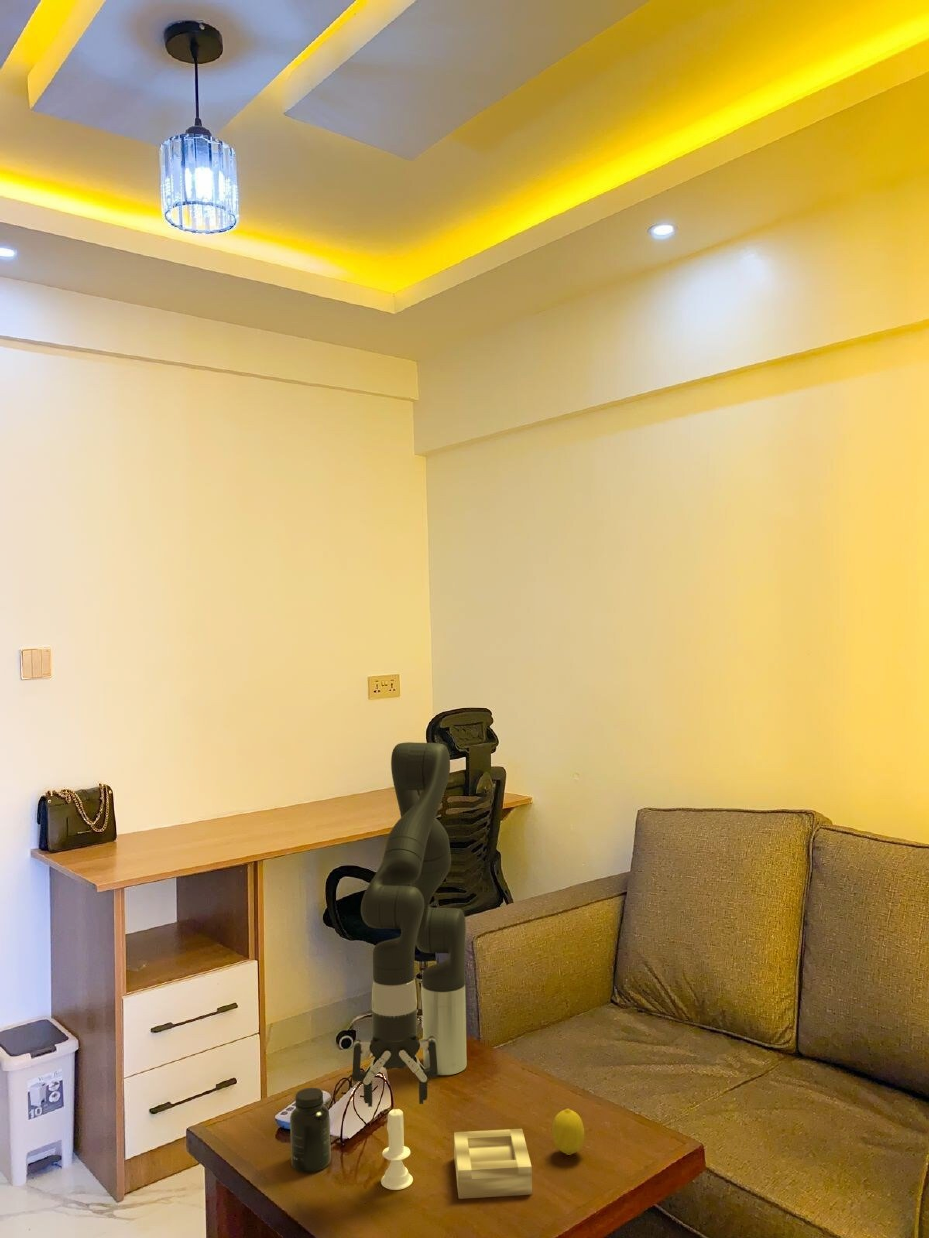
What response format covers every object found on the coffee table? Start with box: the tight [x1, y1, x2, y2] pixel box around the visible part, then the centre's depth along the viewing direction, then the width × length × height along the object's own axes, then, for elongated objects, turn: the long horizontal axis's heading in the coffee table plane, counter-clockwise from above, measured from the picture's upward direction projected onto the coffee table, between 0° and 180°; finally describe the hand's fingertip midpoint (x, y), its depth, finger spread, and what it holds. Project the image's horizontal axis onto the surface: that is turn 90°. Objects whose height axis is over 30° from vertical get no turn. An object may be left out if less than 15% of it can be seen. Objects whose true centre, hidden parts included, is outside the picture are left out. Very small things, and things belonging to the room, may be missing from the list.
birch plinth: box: [453, 1128, 533, 1200], centre depth 159 cm, size 12×12×4 cm
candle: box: [380, 1108, 414, 1191], centre depth 158 cm, size 5×5×12 cm
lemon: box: [551, 1108, 585, 1156], centre depth 165 cm, size 6×6×8 cm
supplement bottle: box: [289, 1087, 332, 1174], centre depth 164 cm, size 7×7×12 cm
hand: (395, 1103), depth 158 cm, fingers open, 8 cm apart
